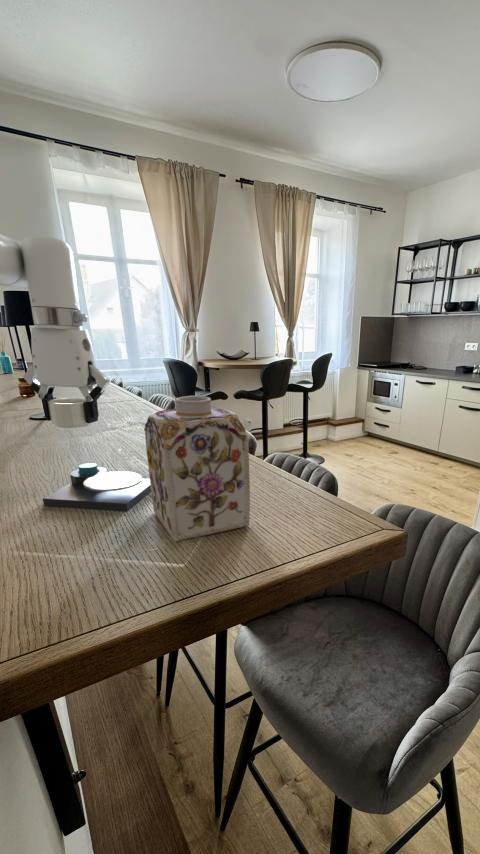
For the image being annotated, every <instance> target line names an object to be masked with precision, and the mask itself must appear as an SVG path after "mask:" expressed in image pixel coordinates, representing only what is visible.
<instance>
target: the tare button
mask: <svg viewBox="0 0 480 854" xmlns="http://www.w3.org/2000/svg"><path fill="white" fill-rule="evenodd" d="M97 467H98V464H97V463H94V462H87V463H81V464H79V465H78V469H79V473H80V475H91V474H96V473H98V468H97Z"/></svg>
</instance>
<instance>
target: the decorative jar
mask: <svg viewBox="0 0 480 854" xmlns="http://www.w3.org/2000/svg"><path fill="white" fill-rule="evenodd" d="M143 431H144V439H145V450H146V458H147V465H148V466H147V467H148V476H149V479H150V487H151V492H150V495H151V499H152V506H153V507H152V508H153V512H154V514H155V516H156V517H157V519H158V520H159V521H160V522H161V524H162V525H163V527H164V529H165V530H166V532H167V533H168V534H169V536H170V537H171V539H172V541H173V542H175V543H176V542H177V543H178V542H180V541H184V540H188V539H189V540H190V539H194V538H200V537H203V536H208V535H213V534H217V533H222V532H227V531H233V530H236V529H240V528H241V529H242V528H244V527H248V526H249V525H250V518H251V516H250V515H251V501H250V500H251V484H250V483H251V481H250V478H251V477H250V454H249V453H250V449H249V448H250V447H249V434H248V433H247V430H246V427H245V426H244V424H243V423H242V421H241V419H240V417H239V414H237V413H236V412H233V411H231V410H228V409H225V408H224V409H223V408H219V407H212V399H211V397H209V396H202V395H185V396H180V397H177V398H175V408H169V409H162V410H158V411H156V412H154V413H152V414H149V415H148V416H147V419H146V423H145V424H144V428H143Z"/></svg>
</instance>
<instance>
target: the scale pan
mask: <svg viewBox="0 0 480 854" xmlns="http://www.w3.org/2000/svg"><path fill="white" fill-rule="evenodd" d="M142 479H143V478H142V475H140V474H139V473H136V472H133V471H109V472H107V473H103V474H98V475H95V476H92V477H89V478H88V479H86V480H85V481H84V483H83V484H84V487H85V488H86V489H89V490H92V491H117V490H123V489H127V488H131V487H134V486H136V485H138V484H139V483H140V482H141V481H142Z"/></svg>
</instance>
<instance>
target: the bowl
mask: <svg viewBox="0 0 480 854" xmlns="http://www.w3.org/2000/svg"><path fill="white" fill-rule="evenodd" d="M85 401H86V399H85V398H80V397H79V398H78V397H70V398H69V397H68V398H67V397H65V398H64V397H63V398H56V399H54V400H49V401H48V407H49V412H50V419H51V421H50V423H51V424H52V425H54V426H55V428H56V427H57V428H60V429H61V428H62V429H63V428H64V429H77V428H85V427H89V426H91V424H92V423H87V422H86V420H85V412H84V405H83V403H84V402H85Z"/></svg>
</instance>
